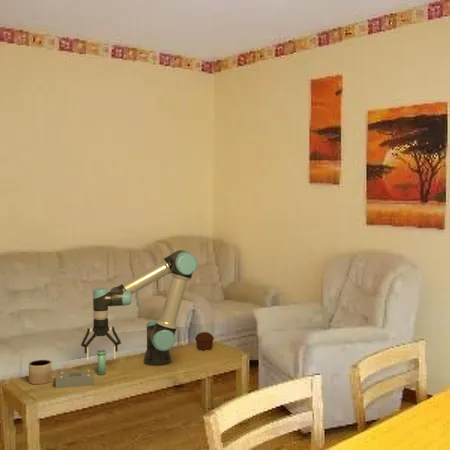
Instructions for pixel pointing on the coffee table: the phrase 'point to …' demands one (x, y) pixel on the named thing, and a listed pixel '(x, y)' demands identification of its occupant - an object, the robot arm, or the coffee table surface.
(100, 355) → the plug
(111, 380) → the coffee table surface
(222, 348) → the coffee table surface
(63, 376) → the grey socket block
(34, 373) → the planter
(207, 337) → the muffin
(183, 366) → the coffee table surface
